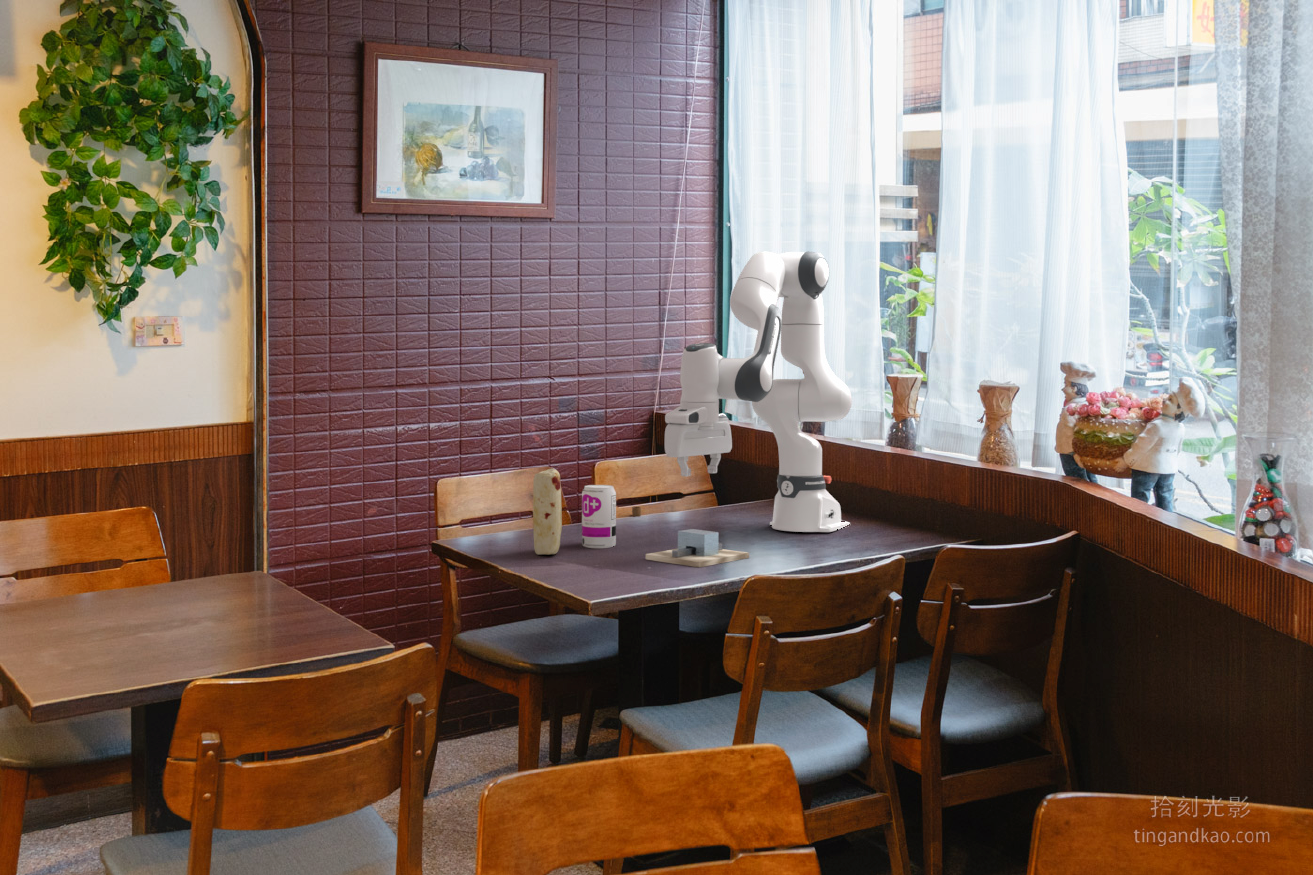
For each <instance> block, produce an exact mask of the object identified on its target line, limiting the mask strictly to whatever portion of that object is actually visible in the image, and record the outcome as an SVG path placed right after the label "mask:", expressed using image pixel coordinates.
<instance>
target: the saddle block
mask: <svg viewBox="0 0 1313 875" xmlns="http://www.w3.org/2000/svg"><path fill="white" fill-rule="evenodd" d="M719 537H720V536H719V532H718V531H712V530H711V531H710V530H704V529H694V528H690V529H684V530H678V531H677V549H684V548H690V547H696V555H697V556H704V557H705V556H710V555H716V554H718V543H719Z"/></svg>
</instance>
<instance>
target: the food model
mask: <svg viewBox="0 0 1313 875" xmlns="http://www.w3.org/2000/svg"><path fill="white" fill-rule="evenodd" d="M532 484H533V491H532V492H533V498H532V500H533V501H532V522H533V524H532V525H533V531H532V532H533V547H534V552H535V555H537V556H539V555H541V556H542V555H546V556H547V555H555V554H557V553H558V552H559V550H560V547H561V537H562V535H561V534H562V528H563V524H562V523H563V520H562V519H563V518H562V517H563V514H562V510H563V509H562V487H561V475H560V472H559V471H558V470H557V469H556V468H555V469H554V468H548V469H544V470H542V471H540V472H538V473H537V472H536V473H534V478H533V483H532Z"/></svg>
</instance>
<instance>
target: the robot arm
mask: <svg viewBox="0 0 1313 875" xmlns="http://www.w3.org/2000/svg"><path fill="white" fill-rule="evenodd" d="M829 279H830V267H829V263H828V261H827V260H826V258H825V257H824V255H822V253H819V252H815V251H805V252H804V251H789V252H788V251H786V252H785V251H784V252H783V253H782V252H781V253H774V252H771V251H758V252H757V253H754V254H753V255H752V256H751V257H750V259H749V260H748V261H747V263H746V264H745V265H744V267H743V268H742V271H741V272H740V274H739V276H738V277H737V280H736V282H735V283H734V287H733V289H732V292H731V295H730V299H729V305H730V310H731V312H732V314H733V315H734V317H735V318H736V319H737V320H738V321H739V322H740V323H741V324H743V325H745V327H748V328H750V329H753V330H756V331H757V335H756V340H755V344H754V348H753V349H754V350H753V352H752V353H751V355H748V356H747V357H738V358H737V357H735V358H732V357H731V358H730V357H725V356H722V355H721V354H719V353H718V350H717V345H715V344H714V343H711V342H710V343H709V342H699V343H693V344H690V345H687V346H686V347H685V348H683V351H682V355H681V360H680V361H681V362H680V376H679V380H680V381H679V382H680V386H681V396H680V400H679V401H680V403H679V404H680V406H678V407H676V408H675V409H673V410H671V411H669V412H667V413H665V415H664V421H665V423H666V427H665V431H664V452H665V454H666V456H667V457H668V458H669V457H670V458H676V460H677V464H678V466H679V468H680V476H681V477H686V478H687V477H690V476H692V473H691V472H692V468H691V467H690V468H689V466H688V462H689V457H696V456H705V455H709V457H710V462H709V465H707V473H708V474H717V473H718V466H719V464H720V461H721V458H722V454H724V453H725V454H726V453H727V454H728V453H730V452H731V450H732V449H733V438H732V429H731V428H732V427H731V425H730V419H729V418H728V416H727V415H726V414H725V413H723V412H722V413H720V412H719V410H720V409H719V408H720V400H723V399H724V400H731V401H732V400H737V401H746V402H751V406H752V409H753V411H754V413H755V415H756V416H757V417H758V418H760V419H761V420H762V421H763V422H765V423H766V425H767V426H768V427H769V428H770V430H771V431H772V433H773V435H774V438H775V440H776V443H777V447H778V449H777V450H778V461H779V462H778V465H779V466H778V467H779V468H778V474H777V479H776V482H777V483H776V485H777V486H776V487H777V489H778V491H777V493H776V494H775V496H774V502H773V511H772V512H773V514H772V521H770V522H769V526H770V525H772V526H771V528H772V529H773V530H778V531H784V532H793V533H794V532H795V533H796V532H797V533H798V532H802V533H831V532H835V531H837V529H838V530H842V529H844V528H843V527H845V526H847V525H849V524H850V525H851V522H849V521H846V520H844V521H845V522H841V521H842V510H841V508H842V507H841V505H840V503H839V502H838V500H836V498H834V497H833V495H831V494H830V493H829V491H828V490H827V489H826V488H827V486H826V484H831V482H832V480H833V479H832V477H831V475H823V448H822V445H821V443H820V442H819V441H818V440H817V439H816V438H814V437H812V436H811V435H809V434H807V433H805V432H803V431H802V430H801V427H800V425H799V423H801V422H812V423H813V422H817V423H819V422H820V423H821V422H822V423H828V422H833V421H838V420H839V421H840V420H843V419H845V417H846V416H847V415H848V414H849V412H850V410H851V408H852V403H853V397H852V392H851V390H850V388H849V387H848V386H847V384H846V383H845V382H844V381H842V380H841V379H840V378H839V377H838V376H836V375H835V373H834V372H833V370H832V369H831V367H830V366H829V363H828V360H827V357H826V351H825V350H826V348H825V313H824V302H823V297H822V293H823V291H825V289H826V287H827V285H828V282H829ZM780 298H783V302H782V310H781V311H780V308H779V307H778V306H777V303H778V300H779V299H780ZM779 342H780V354H781V356H782V358H783V359H784V360H785V361H787V362H788V363H790V364H791V365H793V366H794V367H796V368H799V369H801V370H802V372H803V376H804V377H803V378H797V379H796V378H775V379H774V366H775V362H776V357H777V353H778V349H779V348H778V347H779ZM841 528H842V529H841ZM845 528H846V527H845Z"/></svg>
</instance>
